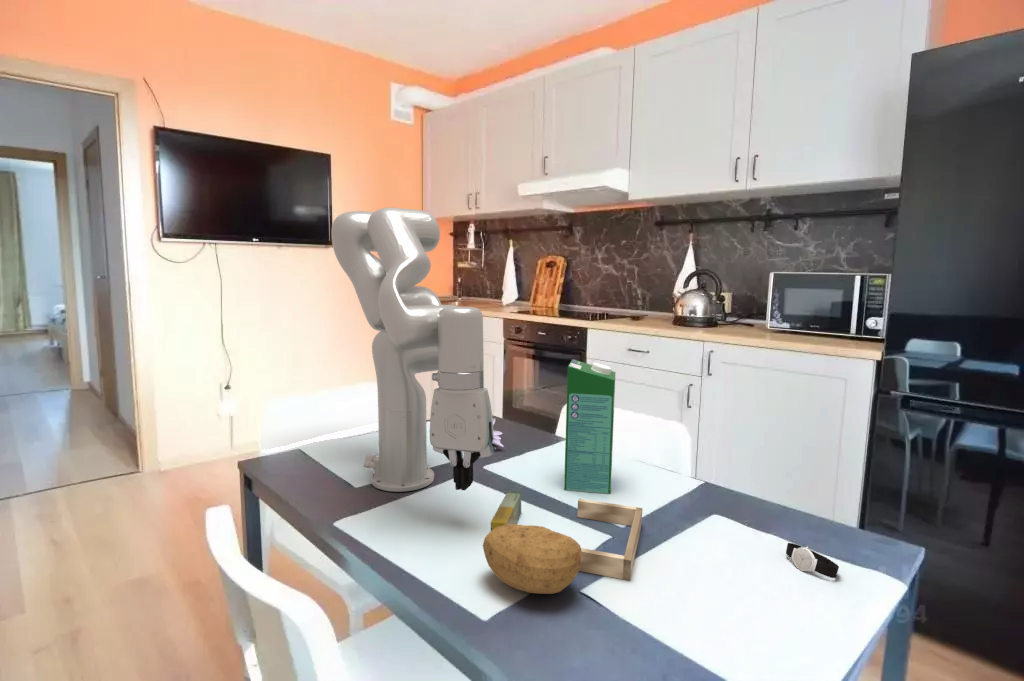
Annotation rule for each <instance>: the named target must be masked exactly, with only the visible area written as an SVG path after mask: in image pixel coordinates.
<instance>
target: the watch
mask: <svg viewBox="0 0 1024 681" xmlns="http://www.w3.org/2000/svg"><path fill="white" fill-rule="evenodd" d="M785 554H786V556H788V557H789V558H790V559H791V560H792V562H793V564H794V565H795V567H796V568H797V569H798V570H800V571H802V572H807V573H808V572H811V571H813V572H816V573H818V574H819V575H822V576H825V577H828V578H831V579H835V578H837V574H838V572H839V568H840V567H839V565H838V564H837V563H835V562H834V561H833V560H831V559H829V558H827V557H826V556H824V555H822V554H820V553H818V552H816V551H814V550H812V549H809V546H806V547H804V546H802V545H799V544H796V543H791V542H787V546H786V551H785Z"/></svg>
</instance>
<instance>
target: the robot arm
mask: <svg viewBox="0 0 1024 681" xmlns="http://www.w3.org/2000/svg"><path fill="white" fill-rule="evenodd" d="M440 237H441V230H440V226H439V222H438V219H436V217H435V216H434V215H433V214H432V213H430V212H429V211H426V210H421V209H411V208H401V207H383V208H382V207H381V208H379V209H376V210H375V211H365V210H364V211H363V210H361V211H360V210H355V211H345V212H343V213H341V214H339V215H338V216H337V217H335V218H334V220H333V222H332V225H331V243H332V248H333V252H334V255H335V257H336V260H337V262H338V263H339V266H341V268H342V270H343V271H344V273H345V274H346V275H347V277H348V279H349V280H350V282H351V284H352V286H353V288H354V290H355V294H356V296H357V298H358V301H359V303H360V307H361V309H362V311H363V314H364V316H365V318H366V320H367V323H368V324H369V325H370V327H371V328H372V329H373V330H374V331H378V332H377V333H376V335H375V336H374V338H373V340H372V342H371V343H372V344H371V352H372V353H371V354H372V361H373V364H374V369H375V375H376V376H375V377H376V385H377V386H376V387H377V407H378V410H377V412H378V413H377V414H378V455H373V454H367V455H365V458H364V462H363V467H364V468H368V469H372V470H374V471H373V473H372V475H371V478H370V479H371V485H372V486H374V487H375V488H376V489H378V490H381V491H386V492H394V493H397V492H398V493H400V492H401V493H402V492H411V491H412V492H413V491H415V490H420V489H422V488H426V487H427V486H429V485H430V484H432V483H433V482H434V479H435V472H434V470H433V469H431V468H430V467H427V465H428V464H427V458H428V457H427V450H428V449H427V448H428V446H427V396H426V391H425V390H424V388H423V386H422V384H421V383H420V382H419V381H418V380H417V378H416V374H420V373H427V372H433V373H432V375H431V380H432V381H433V382H437V386H438V387H437V388H434V390H433V395H432V399H431V401H432V402H431V406H430V408H431V409H430V415H429V416H430V420H429V442H430V445H431V446H432V450H433V451H434V452H436V453H438V454H441V455H443V456H445V457H446V459H447V460H448V461H449V465H450V466H451V467H452V471H453V472H452V474H453V475H452V476H453V477H452V478H453V483H454V484H455V486H454V487H455V491H457V490H458V491H459V490H461V491H466V490H468V488H469V487H471V486H472V484H473V482H474V463H476V461H478V460H479V459H480V458H487V457H488V458H489V457H491V456H492V455H494V446H493V443H492V442H493V430H494V425H493V409H492V403H491V399H490V394H489V391H488V388H486V387H485V370H484V369H485V368H484V316H483V313H482V311H481V309H479V308H477V307H474V306H473V307H472V306H460V305H459V306H458V305H454V304H452V305H451V304H442V302H441V301H440V300H441V299H440V298H439V297H438V294H436V293H435V292H434V291H433V290H432V289H430V288H429V287H426V286H420V285H419V284H420V283H421V282H422V281H424V279H426V277H428V274H429V273H430V271H431V266H432V265H431V260H430V257H429V256H428V253H429V252H432V251H433V250H435V249H436V248H437V246H438V245H439V242H440V239H441V238H440ZM373 252H375V253H376V254H377V256H378V257H377V256H376V255H375V254H373ZM463 452H464V454H463Z"/></svg>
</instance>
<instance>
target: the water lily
mask: <svg viewBox="0 0 1024 681" xmlns="http://www.w3.org/2000/svg"><path fill="white" fill-rule="evenodd" d="M492 418H493V417H492ZM495 423H496V418H495V417H494V418H493V426H494V425H495ZM503 434H504V433H503V432H502V431H499V430H494V429H493V442H492V445H495V446H498V447H501V448H505V446H504V445H503V444H502V443H501V440H502V438H501V437H500V436H501V435H503Z"/></svg>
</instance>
